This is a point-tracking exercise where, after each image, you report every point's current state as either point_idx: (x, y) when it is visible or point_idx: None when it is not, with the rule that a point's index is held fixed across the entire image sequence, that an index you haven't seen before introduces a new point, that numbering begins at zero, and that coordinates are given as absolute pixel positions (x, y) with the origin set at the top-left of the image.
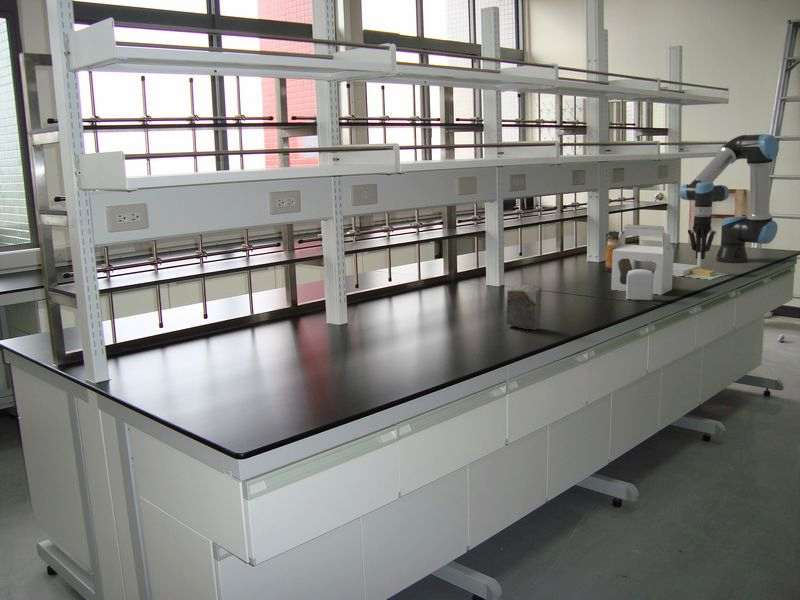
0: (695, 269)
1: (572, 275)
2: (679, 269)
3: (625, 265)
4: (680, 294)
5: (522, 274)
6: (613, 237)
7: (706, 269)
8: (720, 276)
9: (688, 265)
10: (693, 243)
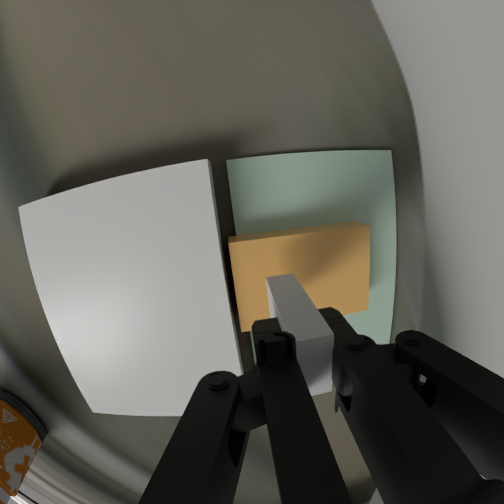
0: (246, 292)
1: (56, 482)
2: None
3: None
4: (367, 495)
5: (30, 487)
6: None
7: (304, 234)
8: (395, 250)
9: (131, 223)
10: (233, 494)
